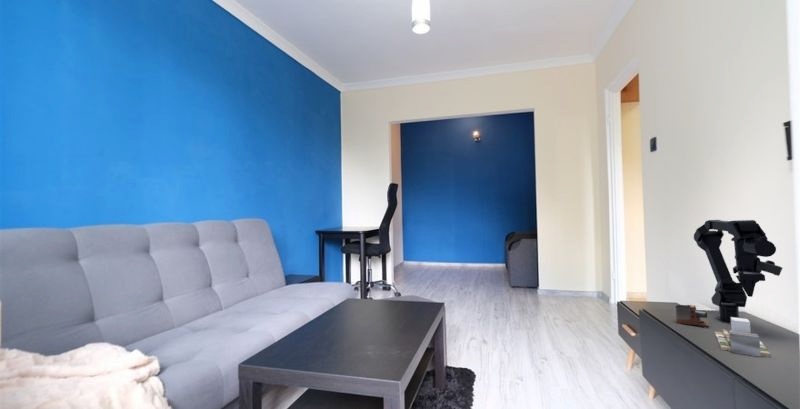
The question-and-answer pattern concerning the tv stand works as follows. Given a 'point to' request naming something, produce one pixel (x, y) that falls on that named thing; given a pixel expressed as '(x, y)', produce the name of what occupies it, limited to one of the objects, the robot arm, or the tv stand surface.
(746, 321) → the white rectangular block
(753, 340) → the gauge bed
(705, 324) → the electronic device
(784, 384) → the tv stand surface
